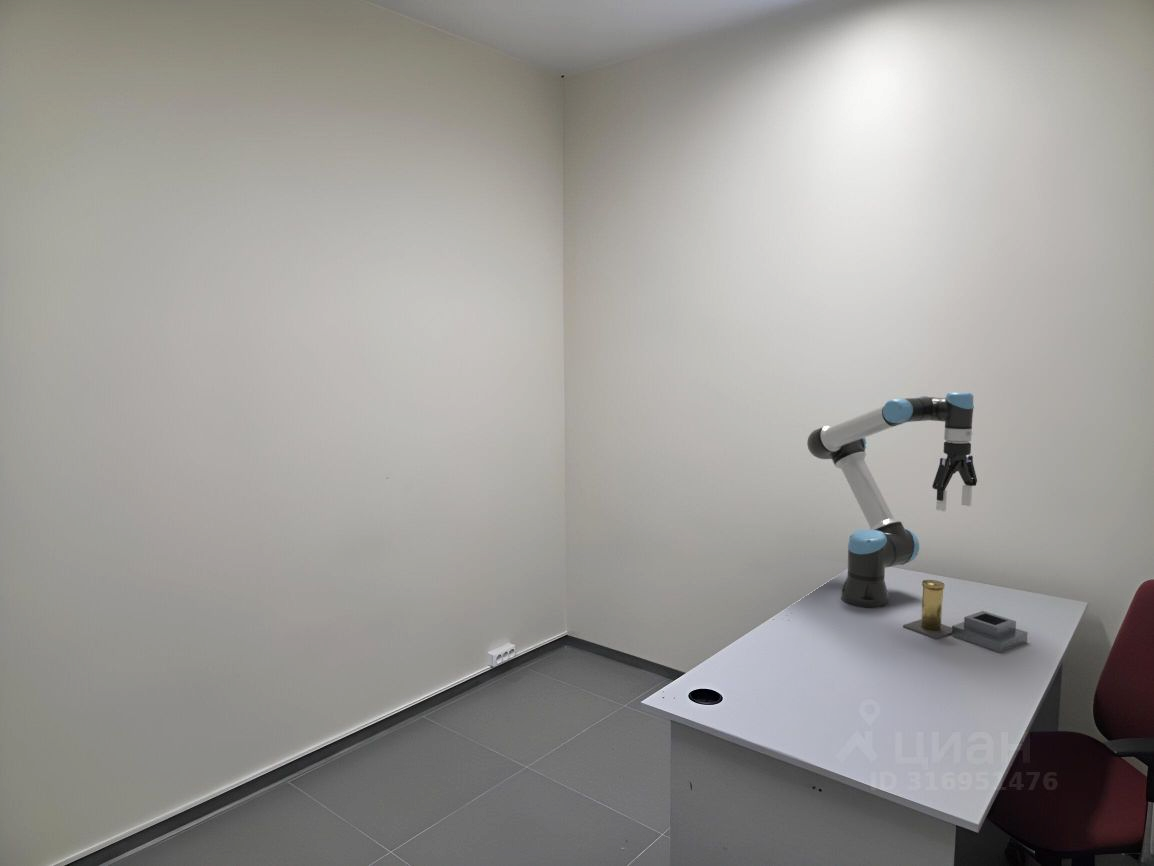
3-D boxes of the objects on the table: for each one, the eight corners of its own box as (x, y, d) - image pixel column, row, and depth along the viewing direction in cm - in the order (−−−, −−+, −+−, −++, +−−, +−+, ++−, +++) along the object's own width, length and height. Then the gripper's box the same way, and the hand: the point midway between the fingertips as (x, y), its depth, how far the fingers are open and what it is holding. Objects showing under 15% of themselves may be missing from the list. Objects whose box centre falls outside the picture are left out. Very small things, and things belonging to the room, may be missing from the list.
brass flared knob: (915, 626, 211) (918, 581, 210) (927, 622, 214) (930, 578, 213) (934, 632, 206) (936, 587, 204) (946, 628, 209) (948, 584, 207)
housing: (951, 635, 206) (952, 616, 205) (978, 625, 213) (979, 607, 212) (1000, 652, 194) (1001, 632, 193) (1026, 642, 201) (1028, 622, 200)
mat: (902, 627, 212) (903, 625, 212) (924, 619, 218) (924, 618, 218) (936, 639, 203) (937, 637, 203) (958, 631, 208) (958, 629, 208)
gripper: (945, 445, 207) (941, 515, 210) (992, 440, 220) (987, 505, 222) (922, 443, 214) (918, 510, 216) (968, 437, 226) (964, 501, 229)
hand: (953, 508), depth 219 cm, fingers open, 13 cm apart
